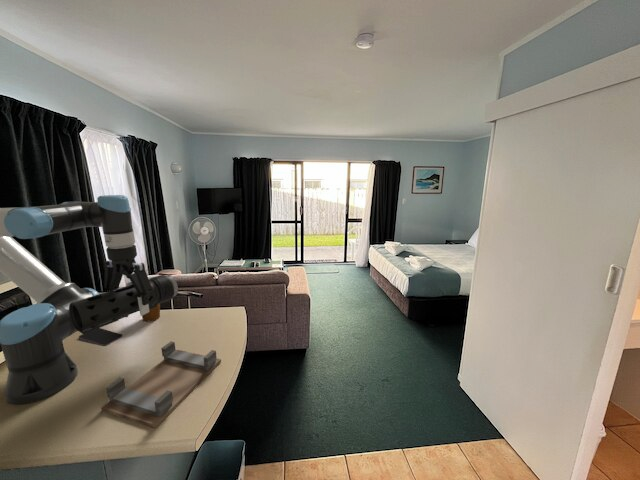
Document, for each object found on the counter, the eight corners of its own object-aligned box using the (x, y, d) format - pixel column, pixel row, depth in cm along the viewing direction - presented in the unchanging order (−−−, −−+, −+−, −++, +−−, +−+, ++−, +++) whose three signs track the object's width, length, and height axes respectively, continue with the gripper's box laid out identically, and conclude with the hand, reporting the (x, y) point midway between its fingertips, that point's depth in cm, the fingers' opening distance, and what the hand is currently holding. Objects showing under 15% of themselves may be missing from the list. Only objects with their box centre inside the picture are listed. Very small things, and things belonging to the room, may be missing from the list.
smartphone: (105, 345, 101) (76, 337, 105) (105, 348, 101) (77, 339, 105) (124, 334, 107) (97, 327, 112) (124, 337, 108) (97, 329, 112)
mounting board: (101, 410, 73) (97, 393, 72) (177, 352, 97) (175, 338, 96) (155, 428, 68) (152, 409, 67) (221, 361, 92) (219, 347, 91)
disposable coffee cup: (157, 310, 127) (154, 286, 124) (168, 316, 122) (164, 291, 119) (134, 319, 119) (130, 293, 117) (144, 326, 114) (140, 299, 111)
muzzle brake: (73, 330, 82) (65, 298, 79) (166, 296, 105) (162, 270, 103) (86, 340, 77) (79, 306, 75) (181, 302, 100) (177, 275, 98)
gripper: (81, 245, 85) (94, 311, 90) (138, 251, 79) (149, 322, 84) (105, 240, 92) (116, 301, 97) (160, 245, 86) (169, 310, 91)
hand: (131, 311), depth 91 cm, fingers closed on muzzle brake, 10 cm apart
